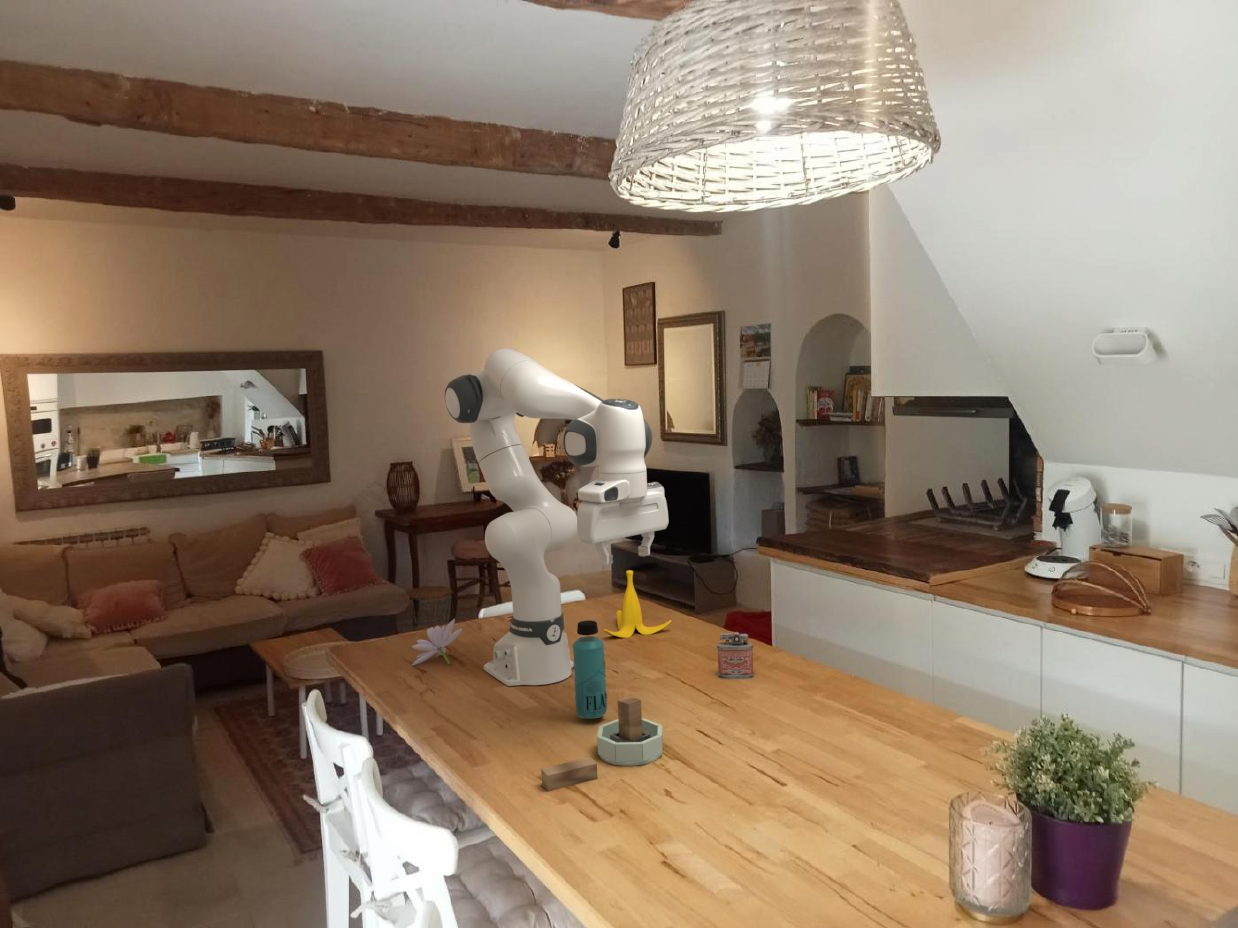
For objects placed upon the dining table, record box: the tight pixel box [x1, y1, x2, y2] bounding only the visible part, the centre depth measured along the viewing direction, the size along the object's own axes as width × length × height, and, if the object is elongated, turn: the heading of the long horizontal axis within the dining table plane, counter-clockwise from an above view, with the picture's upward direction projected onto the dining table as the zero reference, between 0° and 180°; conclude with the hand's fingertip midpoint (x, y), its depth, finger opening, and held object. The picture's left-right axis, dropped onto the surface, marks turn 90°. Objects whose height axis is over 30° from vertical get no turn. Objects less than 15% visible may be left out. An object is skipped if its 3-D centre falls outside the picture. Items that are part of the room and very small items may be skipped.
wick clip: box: [610, 731, 651, 743], centre depth 162 cm, size 5×5×2 cm
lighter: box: [716, 631, 755, 680], centre depth 199 cm, size 8×3×10 cm, turn 84°
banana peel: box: [602, 569, 672, 639], centre depth 235 cm, size 17×19×17 cm
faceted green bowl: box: [596, 717, 664, 767], centre depth 162 cm, size 12×12×4 cm
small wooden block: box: [540, 756, 599, 792], centre depth 152 cm, size 9×3×3 cm, turn 116°
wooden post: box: [617, 695, 643, 741], centre depth 162 cm, size 3×3×9 cm
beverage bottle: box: [572, 619, 608, 719], centre depth 177 cm, size 6×7×20 cm
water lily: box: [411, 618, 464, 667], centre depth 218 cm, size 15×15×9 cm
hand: (625, 559), depth 167 cm, fingers open, 8 cm apart
